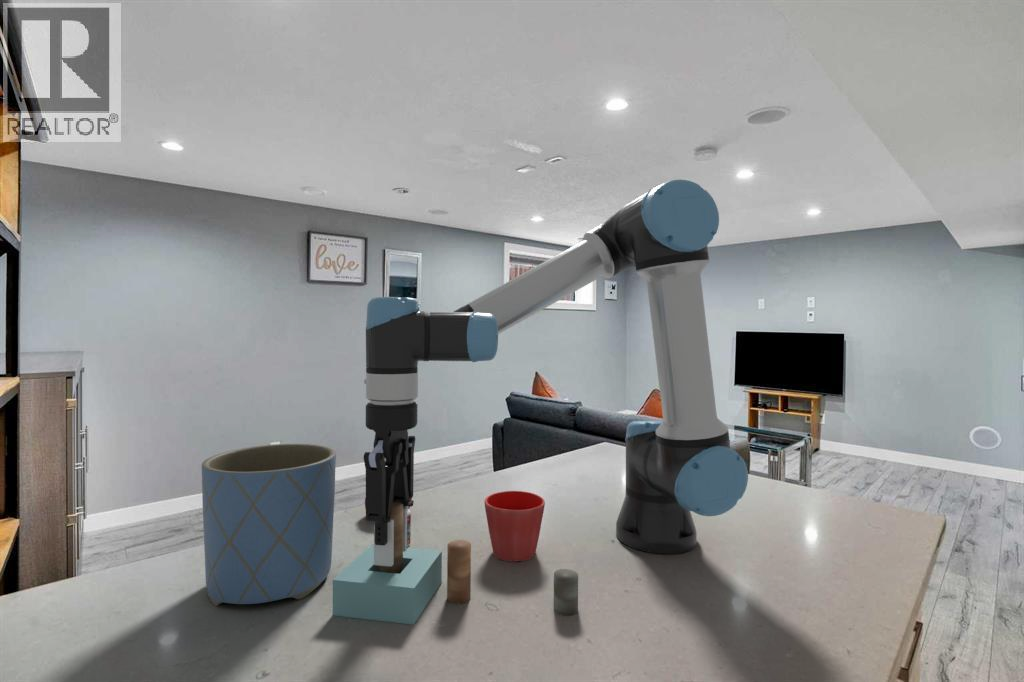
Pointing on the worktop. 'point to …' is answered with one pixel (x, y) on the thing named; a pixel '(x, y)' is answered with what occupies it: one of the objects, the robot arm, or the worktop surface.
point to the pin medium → (459, 571)
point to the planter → (267, 522)
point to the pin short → (566, 592)
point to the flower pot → (514, 524)
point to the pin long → (396, 540)
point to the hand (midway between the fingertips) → (390, 556)
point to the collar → (387, 587)
